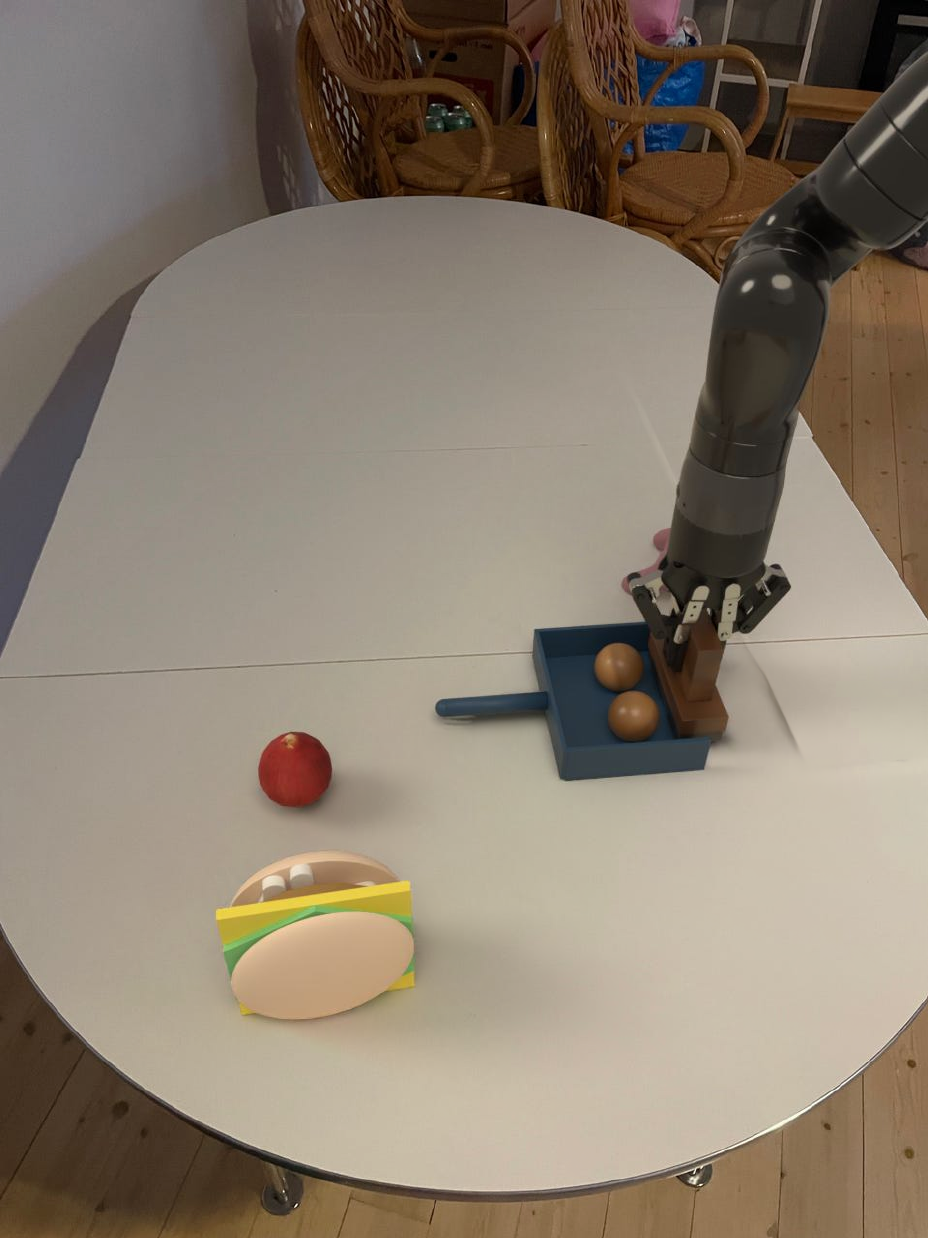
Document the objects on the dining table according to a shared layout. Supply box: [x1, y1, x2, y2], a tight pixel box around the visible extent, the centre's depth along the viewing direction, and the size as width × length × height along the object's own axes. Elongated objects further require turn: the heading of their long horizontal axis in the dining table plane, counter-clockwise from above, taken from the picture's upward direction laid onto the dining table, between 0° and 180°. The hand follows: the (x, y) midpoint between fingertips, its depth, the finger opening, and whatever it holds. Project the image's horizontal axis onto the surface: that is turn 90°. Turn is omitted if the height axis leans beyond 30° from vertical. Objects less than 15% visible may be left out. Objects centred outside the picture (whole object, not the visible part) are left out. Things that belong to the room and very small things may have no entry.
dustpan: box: [434, 620, 712, 782], centre depth 91 cm, size 22×15×4 cm
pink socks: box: [621, 527, 671, 595], centre depth 105 cm, size 10×5×7 cm, turn 150°
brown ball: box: [594, 643, 644, 692], centre depth 94 cm, size 4×4×4 cm
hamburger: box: [215, 850, 416, 1021], centre depth 70 cm, size 12×8×12 cm
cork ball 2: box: [608, 691, 660, 742], centre depth 89 cm, size 4×4×4 cm
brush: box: [648, 608, 730, 742], centre depth 90 cm, size 4×11×9 cm, turn 6°
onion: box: [257, 731, 333, 808], centre depth 83 cm, size 6×6×8 cm
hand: (690, 664), depth 90 cm, fingers closed on brush, 2 cm apart
